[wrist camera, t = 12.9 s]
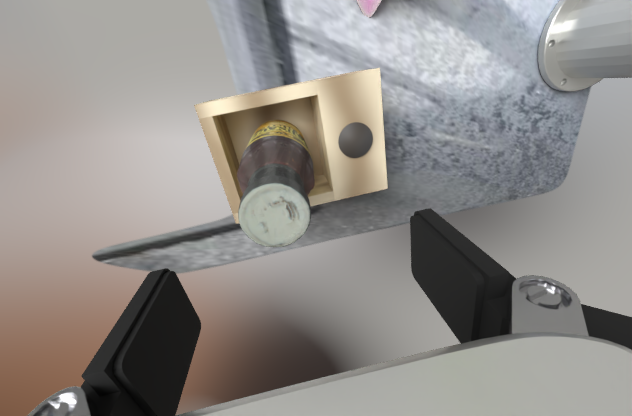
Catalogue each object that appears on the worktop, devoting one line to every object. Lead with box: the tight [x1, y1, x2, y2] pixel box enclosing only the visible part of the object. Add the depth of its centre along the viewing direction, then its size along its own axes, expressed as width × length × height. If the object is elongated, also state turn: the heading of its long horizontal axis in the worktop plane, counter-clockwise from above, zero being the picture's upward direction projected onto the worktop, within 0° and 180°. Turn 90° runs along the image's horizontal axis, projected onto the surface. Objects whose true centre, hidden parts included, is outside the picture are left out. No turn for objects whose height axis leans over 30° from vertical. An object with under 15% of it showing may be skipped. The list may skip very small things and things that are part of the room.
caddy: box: [194, 68, 388, 224], centre depth 31 cm, size 17×12×7 cm
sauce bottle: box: [237, 120, 315, 247], centre depth 24 cm, size 6×6×20 cm
